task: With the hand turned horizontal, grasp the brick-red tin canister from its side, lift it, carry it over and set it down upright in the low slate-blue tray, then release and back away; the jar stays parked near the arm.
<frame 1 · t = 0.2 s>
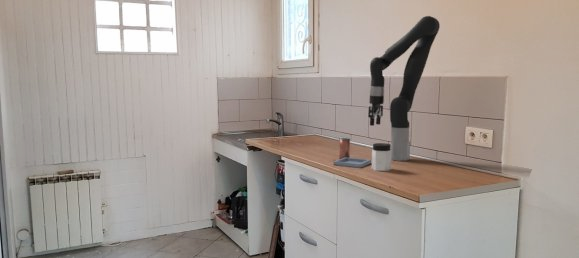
hand: (375, 124, 239), 18 cm above the worktop, tool pointing down, fingers open, 8 cm apart
tray: (352, 164, 222), on the worktop
canister: (344, 159, 236), on the worktop
jar: (381, 169, 208), on the worktop
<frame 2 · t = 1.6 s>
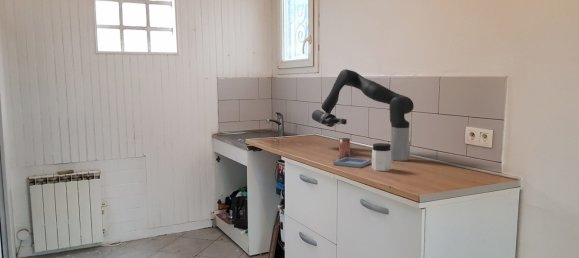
hand: (337, 122, 245), 18 cm above the worktop, tool horizontal, fingers open, 8 cm apart
nothing on the worktop moved.
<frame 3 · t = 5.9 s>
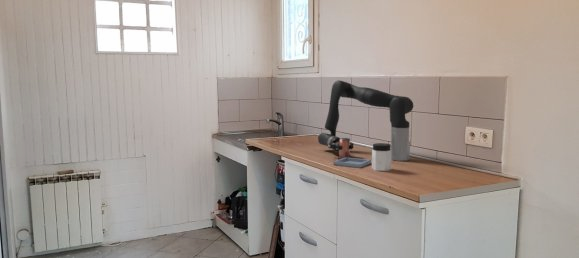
hand: (346, 147, 233), 7 cm above the worktop, tool horizontal, fingers closed on canister, 5 cm apart
canister: (344, 159, 236), on the worktop, touching gripper
everything else where it was.
when the fingers open (8 cm above the worktop, at t = 10.8 s): canister stays where it is, resting on tray.
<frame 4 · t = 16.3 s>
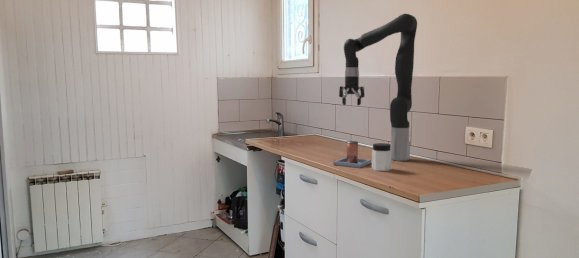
hand: (351, 105, 246), 28 cm above the worktop, tool pointing down, fingers open, 8 cm apart
canister: (352, 163, 222), resting on tray
everything else where it was.
at the end: canister inside the target area on the tray (0.2 cm from its centre), point 0.3 cm above the tray's base; canister tilted 0°; the gripper is holding nothing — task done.
